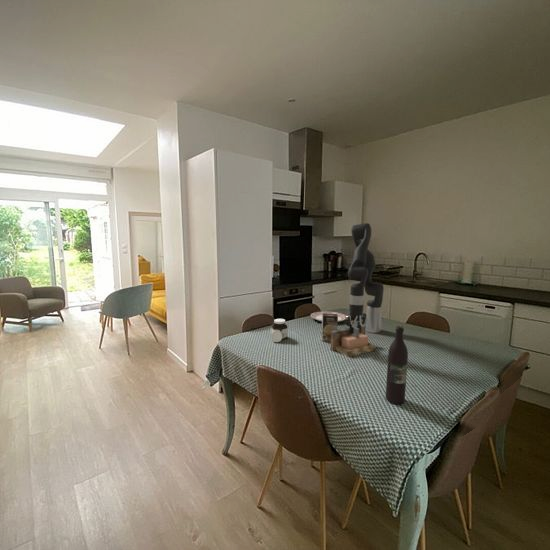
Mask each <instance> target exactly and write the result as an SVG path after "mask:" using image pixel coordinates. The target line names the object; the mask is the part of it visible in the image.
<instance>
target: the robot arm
mask: <svg viewBox="0 0 550 550" xmlns="http://www.w3.org/2000/svg"><path fill="white" fill-rule="evenodd" d="M351 236H352V239H353V243H354V245H355V249H354V252H353V256H352V262H351V264H350V266H349V268H348V271H347V277H348V278H349V280H353V281H360V282H358V283H352V284H351V285H350V294H349V295H350V296H349V305H348V306H349V307H348V308H349V314H348V315H346V316H345V324H346V326H347V327H348V328H350V330H349V332H350V333H351V334H353V333H354V327H355V324H357V325H356V326H357V328H359V332H361V326H362V325H365V326H366V329H365V332H367V333H372V334H378V333H380V332H381V331H382V320H383V319H382V304H383V298H384V297H383V296H384V292H385V291H384V290H385V289H384V284H383V283H381V282H376V281H373V279H372V274H373V272H374V270H375V268H376V260H375V256H374V254H373V253H372V252H371V251H370V250H369V249H368V248H369V245H370V241H371V238H372V226H371V225H370V223H368V222H367V223H360V224H354V225H352V226H351ZM365 293H366V295H368V296H371V297H374V298H373V299H371V300H368V301H366V313H364V306H365V305H364V301H365V297H364V294H365Z"/></svg>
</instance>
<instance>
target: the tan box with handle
mask: <svg viewBox="0 0 550 550" xmlns="http://www.w3.org/2000/svg"><path fill="white" fill-rule="evenodd" d="M368 342H369V335H366V334H365V335H364V334H362V333H359V328H356V327H355V326H354V333H353V334H351V335H349V336H344V337H342V345H341V347H343V348H345V349H347V350H351V349H356V348H360V347H364V346H368Z"/></svg>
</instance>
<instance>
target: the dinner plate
mask: <svg viewBox="0 0 550 550" xmlns="http://www.w3.org/2000/svg"><path fill="white" fill-rule="evenodd" d="M322 313H327V314H337V315H338V323H339V322H342V321H346V319H345V316H347V315H346V314H343V313H340V312H336V311H317V312H313V313H311V314H310V317H311V318H312V319H313V320H316V321H318V322H321V323H322Z"/></svg>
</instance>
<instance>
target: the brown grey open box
mask: <svg viewBox="0 0 550 550" xmlns="http://www.w3.org/2000/svg"><path fill="white" fill-rule="evenodd" d="M354 327H356V328H357V325H356V326H355V325H354ZM349 330H350V327H345V328H340V329H337V330H334V331H331V342H330V351H331V352H338V353H340V354H341V355H344V356H345V355H346V357H347V358H349V357H354V356H358V355H361V353H362V354H365V353H369V352H373V351H375V350H376V345H375V344H374V343H373V344H372V343H371V342H369V341H368V346H364V347H360V348H356V349H351V350H347V349H345V348H343V347H341V345H342V337H344V336H349V335H351V333H350V332H349ZM359 333H362V334H364V335H366V325H365V324H362V326H361V332H359ZM335 350H337V351H335ZM357 354H358V355H357ZM353 355H354V356H353Z"/></svg>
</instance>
